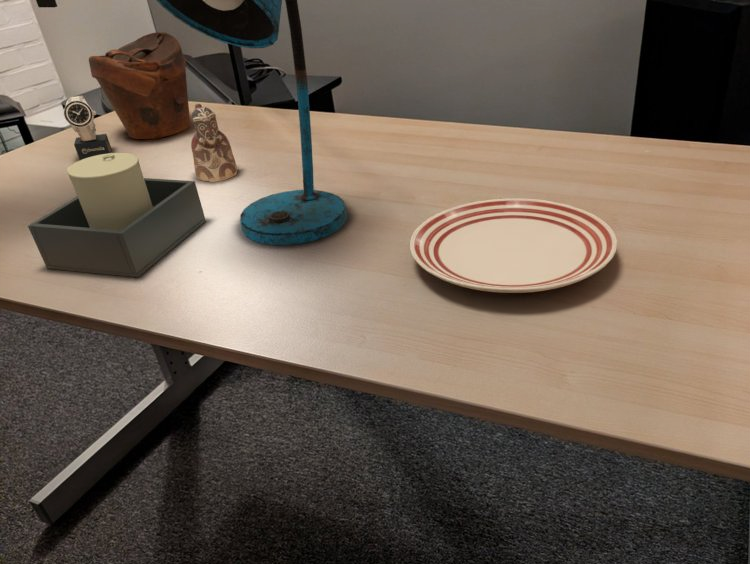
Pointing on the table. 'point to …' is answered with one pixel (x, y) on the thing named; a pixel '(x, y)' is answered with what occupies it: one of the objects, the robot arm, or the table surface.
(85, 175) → the can
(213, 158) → the figurine
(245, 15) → the desk lamp
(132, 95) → the case
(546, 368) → the table surface
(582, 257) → the dinner plate
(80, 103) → the watch
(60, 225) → the bus tub
